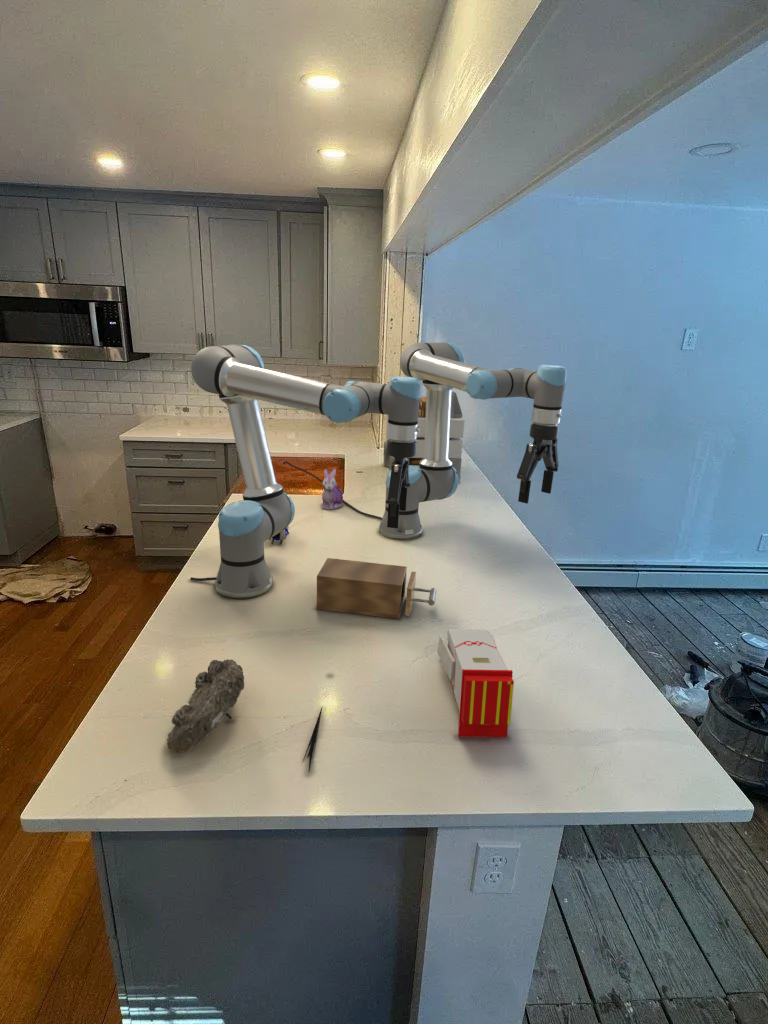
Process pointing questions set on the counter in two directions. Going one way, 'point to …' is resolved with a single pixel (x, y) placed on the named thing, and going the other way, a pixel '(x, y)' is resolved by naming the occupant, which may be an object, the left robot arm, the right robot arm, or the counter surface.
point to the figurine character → (280, 536)
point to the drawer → (411, 592)
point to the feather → (313, 740)
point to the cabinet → (361, 588)
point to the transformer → (454, 436)
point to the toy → (478, 682)
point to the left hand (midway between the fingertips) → (396, 518)
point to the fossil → (206, 705)
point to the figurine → (331, 491)
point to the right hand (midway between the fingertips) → (534, 497)
